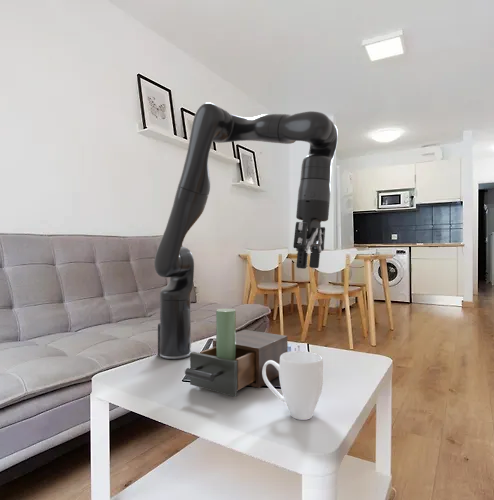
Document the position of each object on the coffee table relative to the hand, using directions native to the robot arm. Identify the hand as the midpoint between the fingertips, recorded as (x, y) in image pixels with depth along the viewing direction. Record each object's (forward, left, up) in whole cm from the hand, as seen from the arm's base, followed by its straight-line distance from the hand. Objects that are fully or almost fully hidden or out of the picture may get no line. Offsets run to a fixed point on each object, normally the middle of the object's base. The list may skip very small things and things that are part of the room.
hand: (307, 268), depth 87 cm
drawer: (-16, -13, -27) cm, 34 cm away
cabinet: (-16, -1, -28) cm, 32 cm away
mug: (+3, -16, -28) cm, 32 cm away
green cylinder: (-16, -12, -26) cm, 32 cm away
